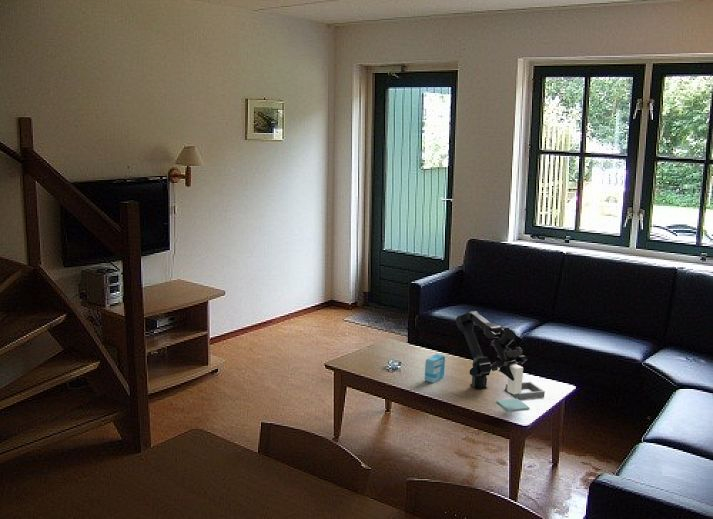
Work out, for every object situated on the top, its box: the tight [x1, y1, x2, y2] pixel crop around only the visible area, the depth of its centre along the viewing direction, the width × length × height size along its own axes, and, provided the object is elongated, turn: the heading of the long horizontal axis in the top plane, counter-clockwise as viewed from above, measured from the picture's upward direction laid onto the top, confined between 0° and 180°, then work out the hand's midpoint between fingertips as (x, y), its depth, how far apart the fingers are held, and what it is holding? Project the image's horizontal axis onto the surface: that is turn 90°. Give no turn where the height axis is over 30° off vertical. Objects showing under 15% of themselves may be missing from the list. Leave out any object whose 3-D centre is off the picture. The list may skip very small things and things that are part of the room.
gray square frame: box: [505, 381, 546, 400], centre depth 343 cm, size 14×13×2 cm
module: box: [506, 364, 524, 395], centre depth 324 cm, size 4×4×12 cm
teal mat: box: [496, 398, 530, 412], centre depth 327 cm, size 11×11×1 cm
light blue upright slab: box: [424, 354, 446, 384], centre depth 355 cm, size 12×4×12 cm, turn 142°
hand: (517, 379), depth 323 cm, fingers closed on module, 4 cm apart
